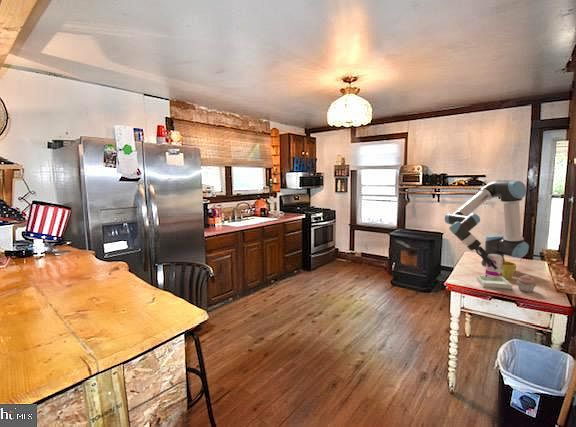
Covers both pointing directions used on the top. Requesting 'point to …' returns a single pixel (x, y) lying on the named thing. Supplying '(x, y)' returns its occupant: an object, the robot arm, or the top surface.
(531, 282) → the cupcake
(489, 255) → the supplement can
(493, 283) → the dish
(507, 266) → the plant pot
